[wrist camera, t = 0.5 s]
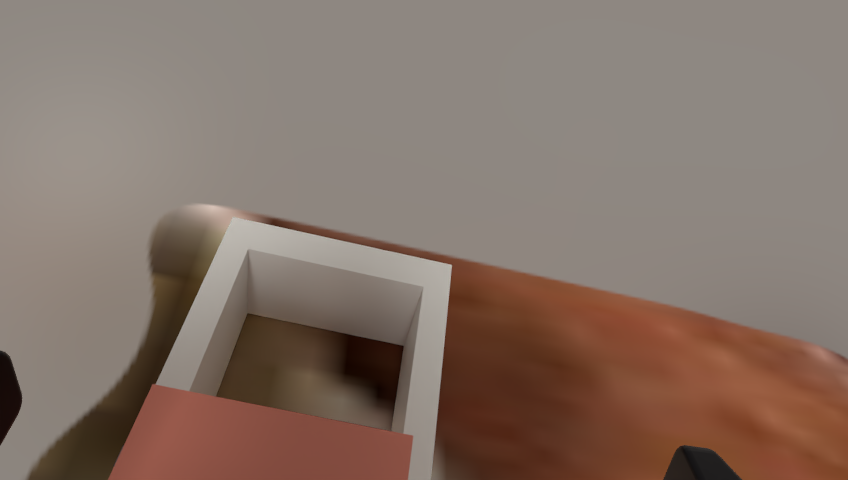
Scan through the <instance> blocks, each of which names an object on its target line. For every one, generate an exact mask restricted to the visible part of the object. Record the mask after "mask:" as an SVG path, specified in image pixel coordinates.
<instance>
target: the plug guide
mask: <svg viewBox="0 0 848 480" xmlns="http://www.w3.org/2000/svg"><path fill="white" fill-rule="evenodd" d="M451 270H452V265H450V264H445V263H441V262H436V261H432V260H427V259H423V258H418V257H413V256H409V255H404V254H400V253H395V252H391V251H386V250H382V249H377V248H373V247H368V246H363V245H359V244H354V243H350V242H345V241H341V240H336V239H332V238H327V237H323V236H318V235H313V234H309V233H304V232H300V231H295V230H291V229H286V228H282V227H277V226H273V225H268V224H263V223H259V222H254V221H250V220H245V219H241V218H236V217H233V218H232V220H231V222H230V224H229V227H228V229H227V231H226V233H225V235H224V237H223V240H222V242H221V244H220V246H219V248H218V250H217V253H216V255H215V257H214V259H213V261H212V263H211V266H210V268H209V270H208V272H207V274H206V276H205V279H204V281H203V283H202V285H201V287H200V289H199V292H198V294H197V296H196V298H195V300H194V302H193V305H192V307H191V309H190V311H189V313H188V315H187V318H186V320H185V322H184V324H183V326H182V328H181V331H180V333H179V335H178V337H177V339H176V341H175V344H174V346H173V348H172V350H171V352H170V354H169V356H168V359H167V361H166V363H165V365H164V367H163V369H162V372H161V374H160V376H159V378H158V380H157V382H156V385H160V386H165V387H170V388H175V389H180V390H185V391H190V392H195V393H201V394H206V395H211V396H216V395H217V392H218V390H219V387H220V385H221V382H222V379H223V377H224V374H225V371H226V369H227V366H228V363H229V361H230V358H231V355H232V353H233V350H234V348H235V345H236V342H237V340H238V337H239V334H240V332H241V329H242V326H243V324H244V321H245V318H246V316H247V313H249V314H254V315H258V316H263V317H268V318H273V319H277V320H282V321H287V322H292V323H297V324H301V325H306V326H311V327H316V328H321V329H325V330H330V331H335V332H340V333H345V334H349V335H354V336H359V337H364V338H369V339H373V340H378V341H383V342H388V343H392V344H397V345H402V346H404V349H403V355H402V362H401V368H400V375H399V382H398V388H397V395H396V401H395V408H394V415H393V421H392V428H391V431H393V432H398V433H403V434H408V435H413V443H412V451H411V459H410V467H409V475H408V480H431V475H432V464H433V454H434V444H435V434H436V423H437V413H438V403H439V393H440V382H441V372H442V362H443V352H444V341H445V331H446V321H447V311H448V300H449V290H450V280H451ZM123 447H124V445H123ZM123 447H122V449H123ZM122 449H121V451H122ZM121 451H120V453H121ZM120 453H119V455H120ZM119 455H118V457H119ZM118 457H117V459H118ZM117 459H116V462H117ZM116 462H115V464H116ZM115 464H114V466H115Z"/></svg>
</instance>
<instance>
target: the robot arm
mask: <svg viewBox="0 0 848 480" xmlns="http://www.w3.org/2000/svg"><path fill="white" fill-rule="evenodd" d="M21 404H22V394H21V390H20V387H19V384H18V380H17V377H16V374H15V371H14V367H13V364H12V361H11V359H10V356H9V355H8V354H7V353H5V352H3V351H0V445H1V443H2V442H3V440H4V438H5V436H6V435H7V433H8V431H9V429H10V428H11V426H12V424H13V422H14V421H15V419H16V417H17V415H18V413H19V410H20V407H21ZM663 480H742V479H741V478H740V477H739V476H738V475H737V474H736V473H735V472H734V471H733V470H732V469H731V468H730V467H729V466H728V465H727V463H726V462H725V461H724V460H723V459H722V458H721V457H720V456H719V455H718V454H717V453H716V452H714V451H713V450H711V449H708V448H701V447H694V446H686V445H684V446H680V447H679V448H678V449H677V450H676V452H675V453H674V456H673V458H672V460H671V463H670V465H669V467H668V470H667V472H666V475H665V477H664V479H663Z"/></svg>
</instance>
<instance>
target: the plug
mask: <svg viewBox="0 0 848 480" xmlns="http://www.w3.org/2000/svg"><path fill="white" fill-rule="evenodd" d="M412 443H413V435H408V434H403V433H398V432H393V431H387V430H382V429H377V428H372V427H367V426H362V425H357V424H352V423H347V422H342V421H337V420H332V419H327V418H322V417H317V416H312V415H307V414H302V413H297V412H291V411H286V410H281V409H276V408H271V407H266V406H261V405H256V404H251V403H246V402H241V401H236V400H231V399H226V398H221V397H216V396H211V395H206V394H201V393H195V392H190V391H185V390H180V389H175V388H170V387H165V386H160V385H155V384H152V386H151V389H150V391H149V393H148V395H147V397H146V399H145V401H144V404H143V406H142V408H141V410H140V412H139V414H138V416H137V419H136V421H135V423H134V425H133V427H132V429H131V431H130V434H129V436H128V438H127V440H126V442H125V444H124V447H123V449H122V451H121V453H120V455H119V457H118V459H117V462H116V464H115V466H114V468H113V470H112V472H111V474H110V477H109V479H108V480H408V475H409V467H410V459H411V451H412Z"/></svg>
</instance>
